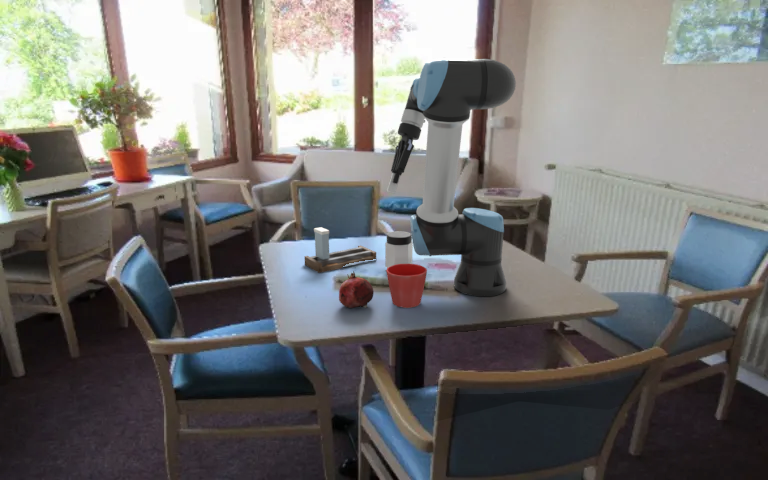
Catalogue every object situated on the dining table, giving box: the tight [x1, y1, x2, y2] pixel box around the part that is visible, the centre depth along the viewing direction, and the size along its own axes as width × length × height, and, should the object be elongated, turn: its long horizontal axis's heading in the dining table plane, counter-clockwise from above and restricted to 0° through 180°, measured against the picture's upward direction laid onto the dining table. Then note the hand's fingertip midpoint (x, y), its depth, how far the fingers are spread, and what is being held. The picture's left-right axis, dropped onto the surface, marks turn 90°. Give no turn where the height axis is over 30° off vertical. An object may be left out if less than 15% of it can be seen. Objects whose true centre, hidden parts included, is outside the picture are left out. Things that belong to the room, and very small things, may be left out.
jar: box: [384, 230, 414, 268], centre depth 161 cm, size 9×8×12 cm
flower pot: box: [385, 263, 428, 309], centre depth 135 cm, size 11×11×10 cm
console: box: [304, 245, 377, 274], centre depth 169 cm, size 22×10×3 cm, turn 125°
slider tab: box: [313, 226, 330, 261], centre depth 164 cm, size 3×5×11 cm, turn 35°
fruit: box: [338, 270, 375, 309], centre depth 132 cm, size 9×10×10 cm
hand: (390, 192), depth 168 cm, fingers closed
